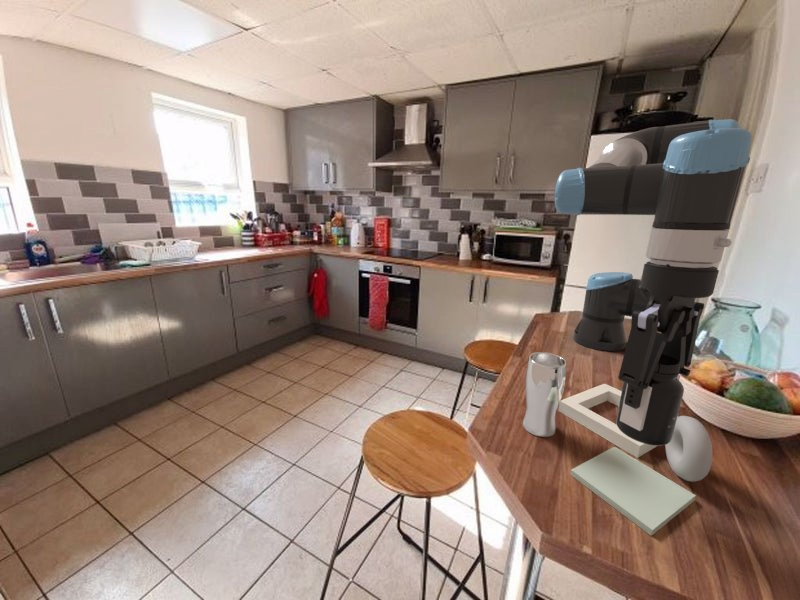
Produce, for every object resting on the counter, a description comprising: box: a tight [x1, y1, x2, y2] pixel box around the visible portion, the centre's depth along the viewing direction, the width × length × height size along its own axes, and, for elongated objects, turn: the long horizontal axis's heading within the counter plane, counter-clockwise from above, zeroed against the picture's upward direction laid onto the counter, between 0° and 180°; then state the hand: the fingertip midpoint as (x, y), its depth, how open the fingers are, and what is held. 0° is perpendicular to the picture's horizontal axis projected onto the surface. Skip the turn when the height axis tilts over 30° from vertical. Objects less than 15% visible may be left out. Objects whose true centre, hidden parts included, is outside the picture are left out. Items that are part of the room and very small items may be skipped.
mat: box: [570, 446, 697, 537], centre depth 52 cm, size 12×12×1 cm
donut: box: [664, 415, 713, 482], centre depth 54 cm, size 10×4×10 cm, turn 159°
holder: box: [557, 383, 658, 459], centre depth 68 cm, size 16×16×2 cm
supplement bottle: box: [615, 354, 685, 447], centre depth 48 cm, size 7×7×12 cm
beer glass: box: [522, 351, 567, 438], centre depth 65 cm, size 7×7×15 cm
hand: (645, 417), depth 49 cm, fingers closed on supplement bottle, 7 cm apart
